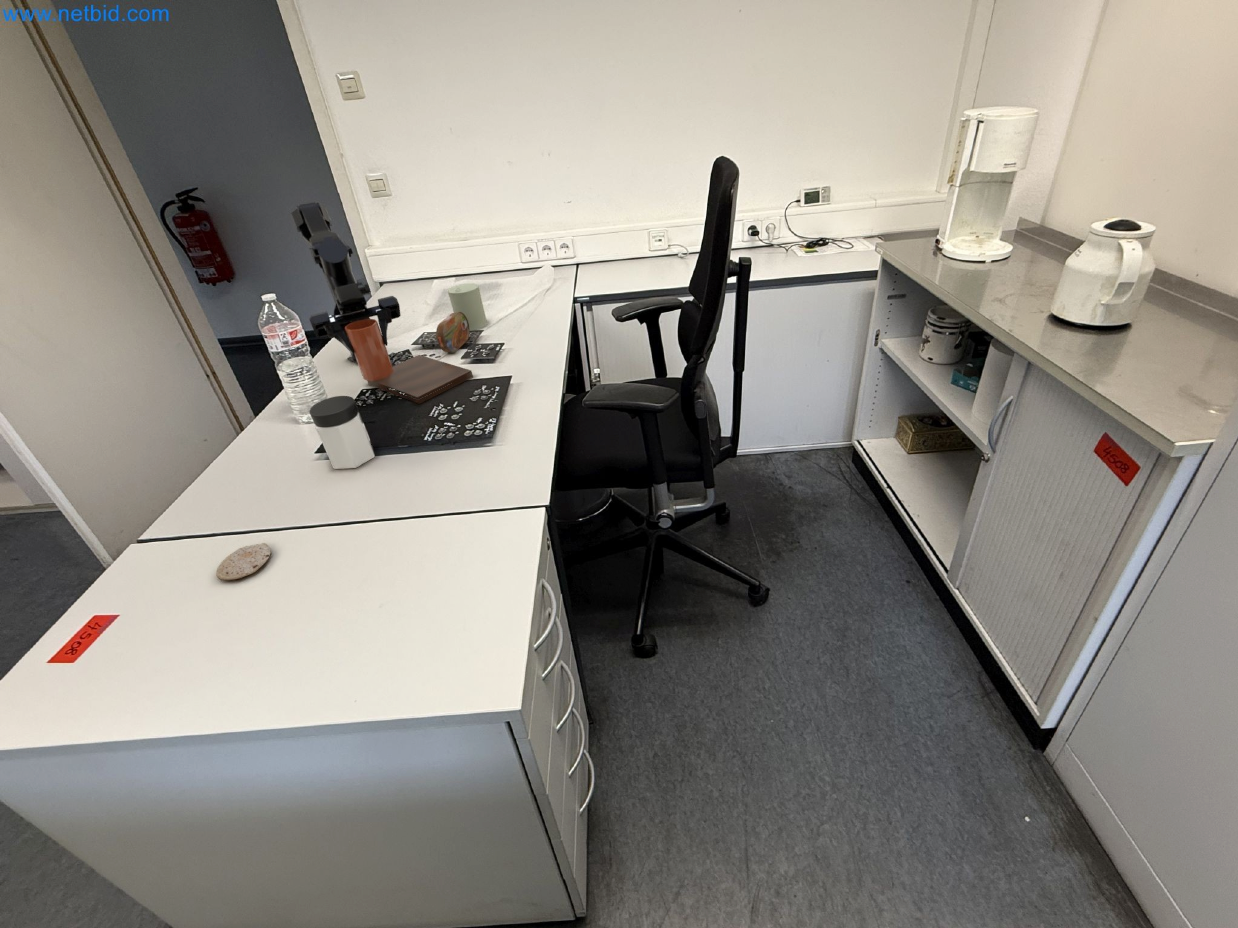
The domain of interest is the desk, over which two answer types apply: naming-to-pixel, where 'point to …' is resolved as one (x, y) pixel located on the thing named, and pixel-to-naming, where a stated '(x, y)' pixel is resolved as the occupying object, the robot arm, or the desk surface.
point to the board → (422, 378)
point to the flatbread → (243, 561)
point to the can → (468, 304)
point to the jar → (342, 432)
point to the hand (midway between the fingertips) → (370, 349)
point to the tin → (453, 332)
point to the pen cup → (369, 349)
